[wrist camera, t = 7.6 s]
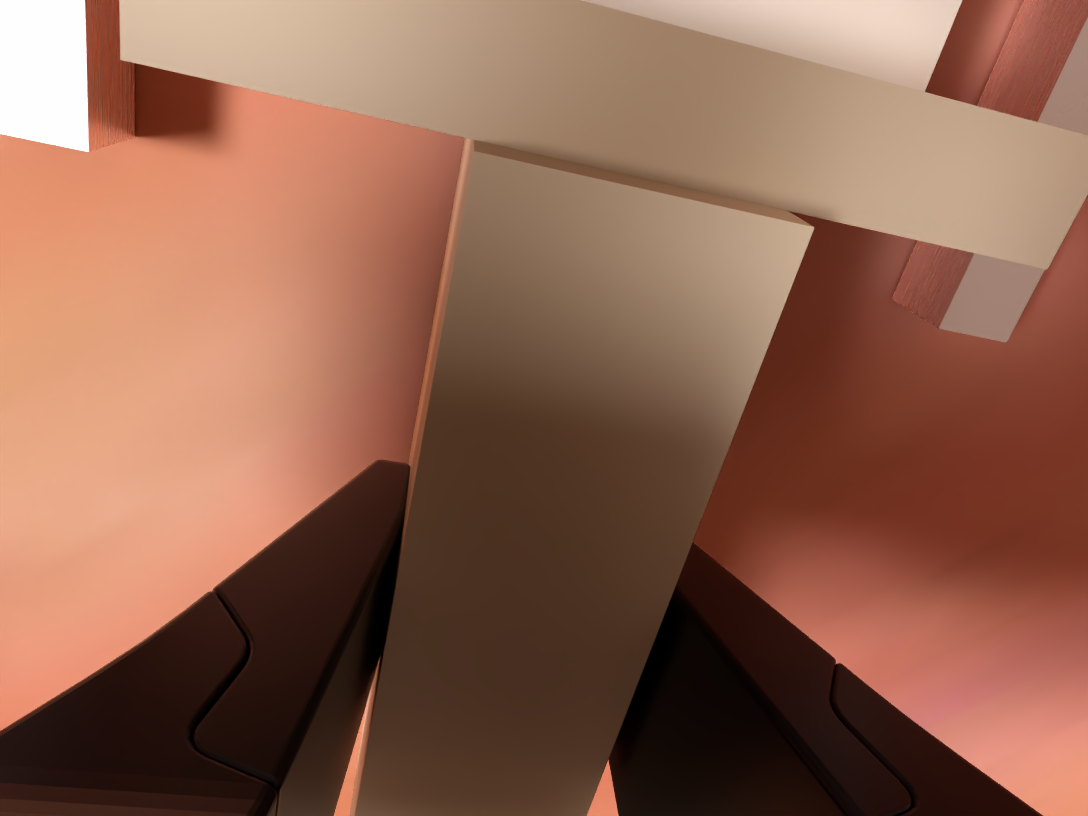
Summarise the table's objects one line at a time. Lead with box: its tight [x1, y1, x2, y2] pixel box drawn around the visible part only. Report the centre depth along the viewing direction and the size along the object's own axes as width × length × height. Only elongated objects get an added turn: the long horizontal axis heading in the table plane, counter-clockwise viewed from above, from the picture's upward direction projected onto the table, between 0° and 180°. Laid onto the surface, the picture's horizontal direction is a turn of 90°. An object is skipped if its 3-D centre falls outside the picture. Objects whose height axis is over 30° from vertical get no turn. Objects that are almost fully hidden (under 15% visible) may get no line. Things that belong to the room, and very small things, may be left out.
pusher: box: [119, 0, 1088, 816], centre depth 9 cm, size 7×11×4 cm, turn 167°
